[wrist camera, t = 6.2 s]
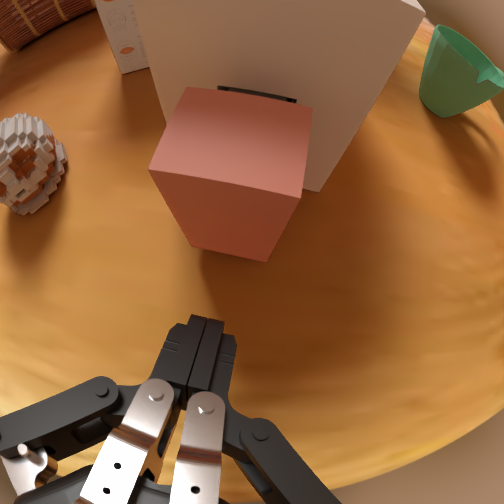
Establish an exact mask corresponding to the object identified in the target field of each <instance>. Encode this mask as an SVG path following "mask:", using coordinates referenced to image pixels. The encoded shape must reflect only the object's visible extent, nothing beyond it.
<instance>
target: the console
mask: <svg viewBox="0 0 504 504" xmlns="http://www.w3.org/2000/svg"><path fill="white" fill-rule="evenodd" d="M132 2H133V6H134V10H135V14H136V18H137V22H138V26H139V30H140V34H141V38H142V41H143V45H144V49H145V53H146V56H147V60H148V63H149V67H150V70H151V74H152V77H153V81H154V84H155V88H156V91H157V94H158V98H159V101H160V104H161V108H162V111H163V114H164V117H165V121H166V124H168V122H169V120H170V118H171V116H172V114H173V112H174V110H175V108H176V106H177V104H178V102H179V100H180V98H181V96H182V94H183V92H184V90H185V88H186V87H195V88H205V89H215V90H223V91H228V89H229V87H234V88H241V89H247V90H253V91H259V92H265V93H270V94H275V95H280V96H284V97H287V100H286V102H291V103H295V104H299V105H303V106H307V107H311V108H313V112H312V121H311V129H310V137H309V145H308V152H307V160H306V167H305V174H304V181H303V187H302V189H306V190H310V191H314V192H318V193H319V192H320V190H321V189H322V187H323V185H324V184H325V182H326V181H327V179H328V178H329V176H330V174H331V173H332V171H333V170H334V168H335V166H336V165H337V163H338V162H339V160H340V158H341V157H342V155H343V154H344V152H345V150H346V149H347V147H348V146H349V144H350V142H351V141H352V139H353V137H354V136H355V134H356V133H357V131H358V129H359V128H360V126H361V124H362V123H363V121H364V119H365V118H366V116H367V114H368V113H369V111H370V109H371V108H372V106H373V105H374V103H375V101H376V99H377V98H378V96H379V94H380V93H381V91H382V89H383V88H384V86H385V84H386V83H387V81H388V79H389V78H390V76H391V74H392V72H393V71H394V69H395V67H396V66H397V64H398V62H399V60H400V59H401V57H402V55H403V53H404V52H405V50H406V48H407V46H408V45H409V43H410V41H411V39H412V38H413V36H414V34H415V32H416V30H417V29H418V27H419V25H420V23H421V21H422V20H423V18H424V16H425V14H426V12H425V11H424V9H423V8H422V7H421V5H420V4H419V3H418V1H417V0H132Z"/></svg>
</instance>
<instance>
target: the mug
mask: <svg viewBox="0 0 504 504" xmlns="http://www.w3.org/2000/svg"><path fill="white" fill-rule="evenodd" d="M503 89H504V74H503V72H502V71H501V70H500V69H498V68H496V67H495V66H494V65H493V63H492V62H491V61H490V60H489V59H488V58H487V57H486V55H485V54H483V52H482V51H480V50H479V49H478V48H477V47H476V46H475V45H474V44H473V43H471V42H470V41H469V40H468V39H466V38H465V37H464V36H462V35H461V34H459V33H458V32H456V31H454V30H452V29H451V28H449V27H446V26H443V25H437V26H436V27H435V29H434V32H433V35H432V39H431V42H430V45H429V49H428V52H427V55H426V58H425V63H424V68H423V72H422V77H421V83H420V90H419V96H420V98H421V100H422V102H423V103H424V105H425V106H426V107H427V108H428V109H429V110H430V111H431V112H433V113H434V114H435V115H437V116H439V117H442V118H447V117H450V116H453V115H457V114H460V113H462V112H465V111H467V110H469V109H472V108H474V107H476V106H478V105H480V104H482V103H484V102H486V101H487V100H489V99H490V98H492V97H494V96H495V95H497V94H499V93H500V92H501V91H502V90H503Z"/></svg>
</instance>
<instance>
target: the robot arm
mask: <svg viewBox="0 0 504 504" xmlns="http://www.w3.org/2000/svg"><path fill="white" fill-rule="evenodd" d="M224 323H225V322H224V321H219V320H215V319H210V318H209V319H208V318H206V317H201V316H197V315H193V314H192V315H191V316H190V319H189V321H188V324H187V325H184V324H180V323H177V324H176V325H175V326H174V327H173V328H171V329H170V331H169V333H168V335H167V338H166V341H165V342H164V345H163V348H162V349H161V352H160V354H159V356H158V359H157V361H156V364H155V366H154V369H153V371H152V373H151V376H150V377H149V379H148V380H147V381H145V382H143V383H142V384H140V385H136V386H123V385H116V383H115V382H114V381H113V380H112V379H110V378H108V377H104V376H99V377H95V378H93V379H90V380H88V381H86V382H84V383H82V384H79V385H77V386H75V387H73V388H70V389H68V390H66V391H64V392H61V393H59V394H57V395H54V396H52V397H50V398H47V399H45V400H42V401H40V402H38V403H35V404H33V405H30V406H28V407H25V408H23V409H20V410H18V411H15V412H13V413H10V414H8V415H5V416H3V417H0V456H1V457H2V460H3V463H4V465H5V468H6V470H7V473H8V475H9V477H10V479H11V481H12V484H13V486H14V488H15V490H16V492H17V494H18V497H17V498H16V500H15V501H14V504H229V503H228V502H226V501H225V500H223V499H221V498H220V497H219V486H220V474H221V452H222V453H224V454H226V455H228V456H230V457H232V458H233V459H234V461H235V462H236V464H237V465H238V467H239V468H240V469H241V471H242V472H243V474H244V475H245V476H246V478H247V479H248V481H249V482H250V483H251V485H252V486H253V487H254V489H255V490H256V491H257V492H258V494H259V495H260V496H261V498H262V499H263V500H264V501H265V503H266V504H342V503H340V501H339V500H338V499H337V498H336V497H335V496H334V495H333V494H332V493H331V492H330V491H329V489H328V488H327V487H326V486H325V485H324V484H323V483H322V482H321V481H320V479H319V478H318V477H317V476H316V475H315V474H314V473H313V471H312V470H311V469H310V468H309V467H308V466H307V464H306V463H305V462H304V461H303V460H302V458H301V457H300V456H299V455H298V454H297V452H296V451H295V450H294V449H293V447H292V446H291V445H290V444H289V442H288V441H287V440H286V439H285V437H284V436H283V435H282V434H281V432H280V431H279V430H278V428H277V427H276V426H275V425H274V424H273V423H272V422H271V421H269V420H267V419H263V418H254V419H250V418H248V417H246V416H243V415H241V414H240V413H238V412H236V411H235V410H234V409H233V408H232V407H231V405H230V403H229V401H228V390H229V385H230V380H231V374H232V369H233V364H234V358H235V353H236V348H237V344H236V341H235V338H234V336H233V335H228V334H224V333H223V330H224ZM181 410H185V411H186V416H185V422H184V427H183V433H182V439H181V445H180V449H179V451H178V455H177V459H176V465H175V471H174V478H173V484H172V486H171V485H159V484H157V481H158V479H159V476H160V473H161V470H162V466H163V460H164V457H165V454H166V451H167V449H168V446H169V443H170V441H171V438H172V436H173V433H174V430H175V428H176V425H177V421H178V417H179V414H180V411H181ZM106 439H107V440H106ZM104 440H106V442H105V444H104V446H103V448H102V450H101V452H100V454H99V456H98V458H97V460H96V462H95V464H92V465H88V466H85V467H83V468H80V469H78V470H76V471H74V472H72V473H70V474H68V475H66V476H64V477H61V478H59V479H57V480H55V481H52V482H50V483H48V484H47V481H48V480H49V479H50V478H51V477H53V476H54V475H55V474H56V473H57V470H58V464H57V461H60V460H62V459H64V458H67V457H69V456H71V455H74V454H76V453H78V452H80V451H83V450H85V449H87V448H89V447H91V446H93V445H96V444H98V443H100V442H102V441H104Z"/></svg>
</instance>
